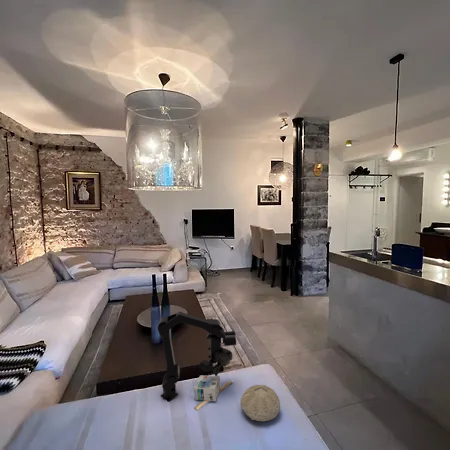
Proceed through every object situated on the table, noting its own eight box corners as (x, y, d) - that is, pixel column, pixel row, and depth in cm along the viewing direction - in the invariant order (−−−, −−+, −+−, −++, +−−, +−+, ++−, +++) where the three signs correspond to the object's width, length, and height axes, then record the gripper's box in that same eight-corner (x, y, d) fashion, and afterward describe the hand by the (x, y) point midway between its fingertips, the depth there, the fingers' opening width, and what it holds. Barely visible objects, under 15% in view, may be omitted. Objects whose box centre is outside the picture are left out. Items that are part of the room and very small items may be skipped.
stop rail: (194, 408, 128) (194, 407, 128) (229, 381, 148) (229, 380, 148) (197, 410, 127) (197, 409, 127) (232, 382, 146) (232, 381, 146)
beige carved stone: (247, 431, 115) (247, 408, 114) (236, 402, 132) (235, 382, 131) (286, 422, 119) (286, 401, 118) (270, 395, 136) (270, 376, 135)
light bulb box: (214, 388, 131) (193, 387, 133) (215, 402, 131) (194, 400, 133) (219, 375, 141) (199, 374, 143) (220, 388, 141) (200, 387, 143)
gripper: (214, 359, 125) (215, 391, 126) (239, 343, 139) (240, 373, 140) (197, 351, 132) (198, 382, 133) (223, 337, 147) (223, 365, 148)
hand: (216, 375), depth 138 cm, fingers closed
